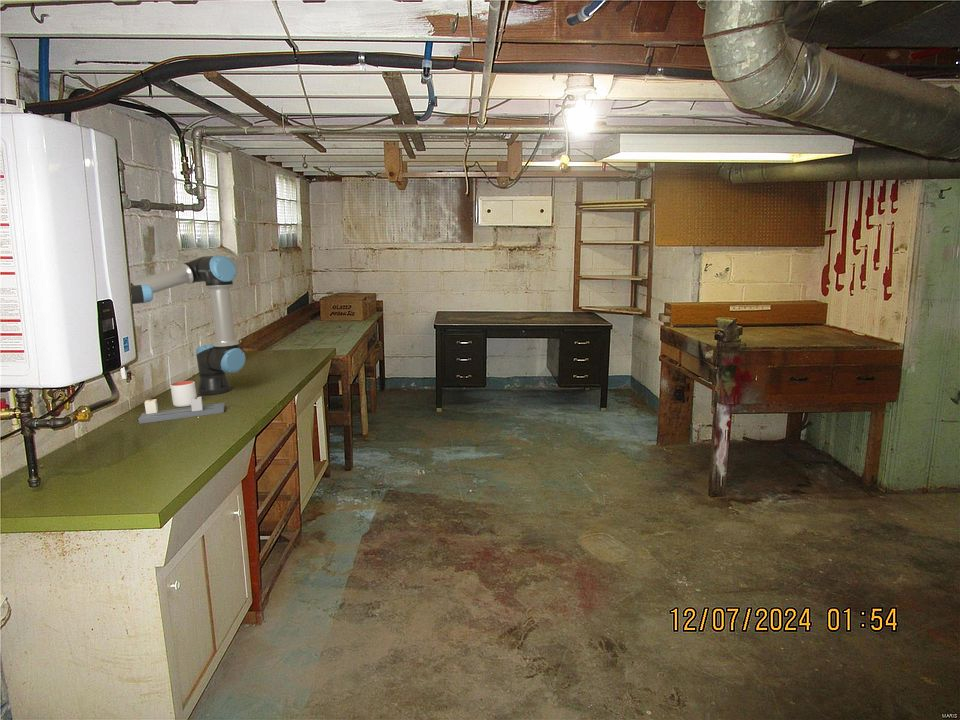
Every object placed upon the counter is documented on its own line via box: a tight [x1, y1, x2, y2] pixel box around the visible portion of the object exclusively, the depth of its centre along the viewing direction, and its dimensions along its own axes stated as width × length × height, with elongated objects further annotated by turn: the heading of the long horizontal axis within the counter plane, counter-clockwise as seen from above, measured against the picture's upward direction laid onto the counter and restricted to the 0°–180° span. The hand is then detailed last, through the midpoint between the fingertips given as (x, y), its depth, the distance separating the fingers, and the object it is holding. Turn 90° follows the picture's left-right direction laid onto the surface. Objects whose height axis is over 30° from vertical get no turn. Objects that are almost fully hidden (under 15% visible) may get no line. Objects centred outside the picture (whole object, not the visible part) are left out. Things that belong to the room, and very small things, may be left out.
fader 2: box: [190, 396, 204, 412], centre depth 266 cm, size 4×4×5 cm
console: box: [138, 402, 226, 425], centre depth 268 cm, size 10×32×2 cm, turn 109°
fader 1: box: [144, 398, 159, 414], centre depth 266 cm, size 4×4×5 cm
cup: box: [169, 380, 198, 408], centre depth 285 cm, size 10×10×10 cm
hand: (124, 378), depth 261 cm, fingers closed
